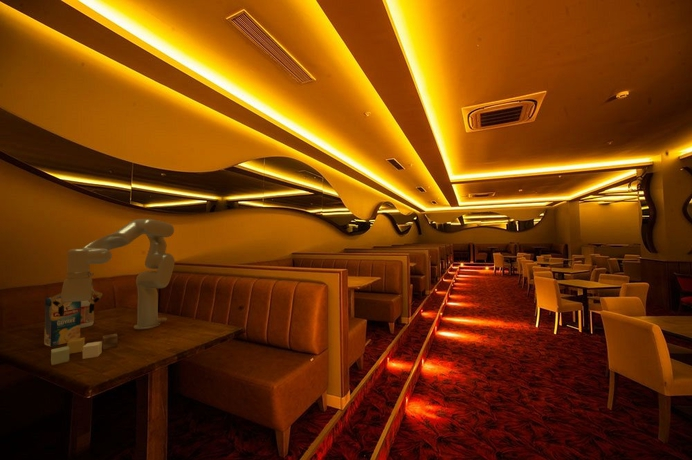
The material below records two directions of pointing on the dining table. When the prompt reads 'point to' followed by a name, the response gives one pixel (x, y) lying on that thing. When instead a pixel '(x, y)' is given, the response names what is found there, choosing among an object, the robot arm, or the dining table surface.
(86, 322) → the fruit juice
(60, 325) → the blue cardboard box
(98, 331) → the dining table surface
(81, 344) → the ochre cube
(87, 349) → the cream cube
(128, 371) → the dining table surface
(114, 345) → the walnut cube
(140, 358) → the dining table surface
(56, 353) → the sage cube
